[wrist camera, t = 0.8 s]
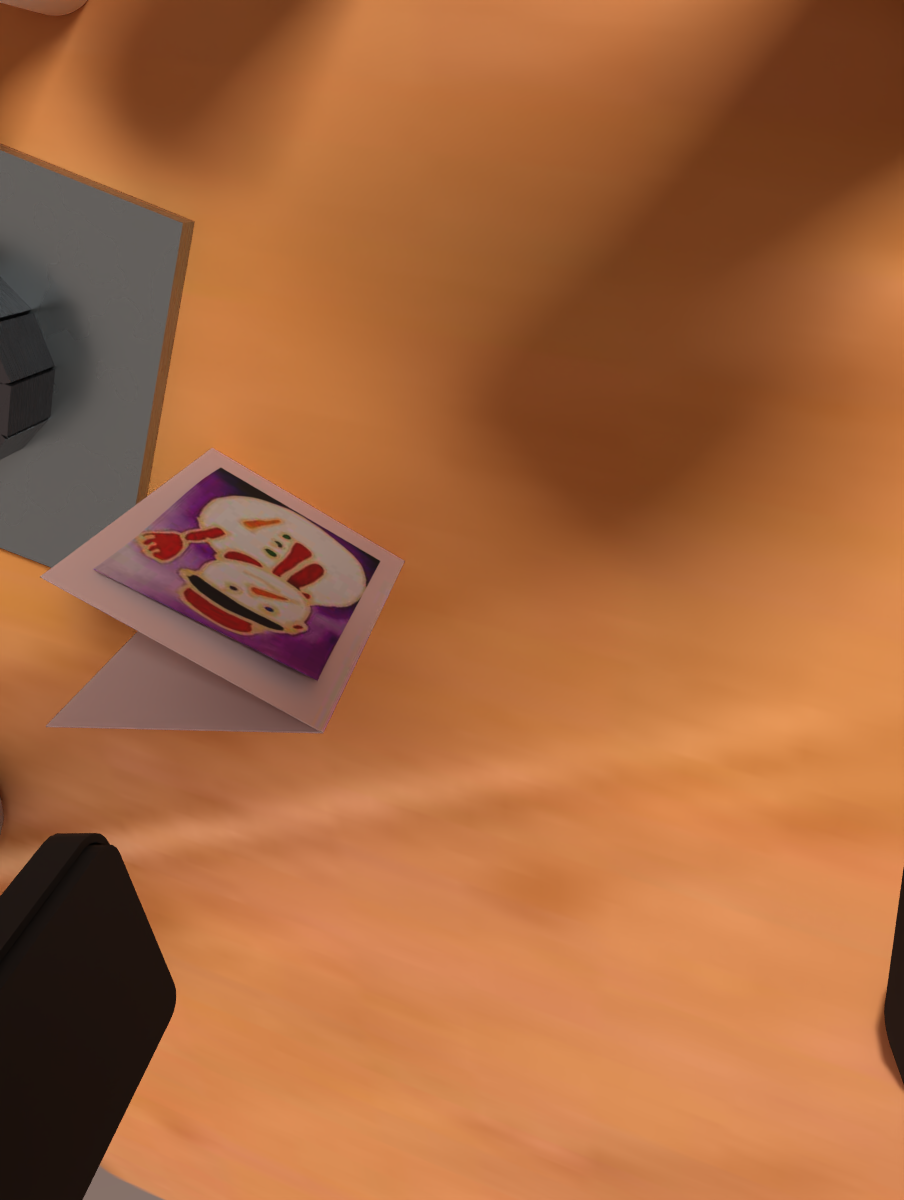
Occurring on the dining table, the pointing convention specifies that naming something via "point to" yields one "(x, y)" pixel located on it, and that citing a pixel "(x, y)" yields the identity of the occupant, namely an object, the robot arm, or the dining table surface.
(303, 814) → the dining table surface
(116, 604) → the greeting card
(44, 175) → the square plate with ring
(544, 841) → the dining table surface
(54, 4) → the round-ended cylinder
